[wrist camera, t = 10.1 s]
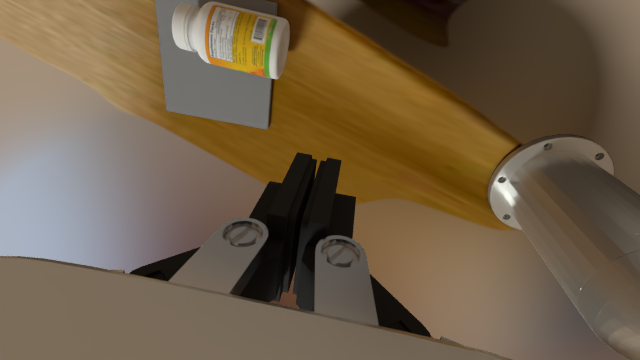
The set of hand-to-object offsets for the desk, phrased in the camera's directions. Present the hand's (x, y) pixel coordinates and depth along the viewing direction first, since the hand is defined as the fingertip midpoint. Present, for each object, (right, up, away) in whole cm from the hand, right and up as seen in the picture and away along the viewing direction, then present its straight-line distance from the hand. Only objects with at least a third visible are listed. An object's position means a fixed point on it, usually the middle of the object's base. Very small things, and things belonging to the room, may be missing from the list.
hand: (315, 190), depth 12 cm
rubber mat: (-11, +13, +22) cm, 28 cm away
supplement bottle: (-3, +12, +17) cm, 22 cm away
